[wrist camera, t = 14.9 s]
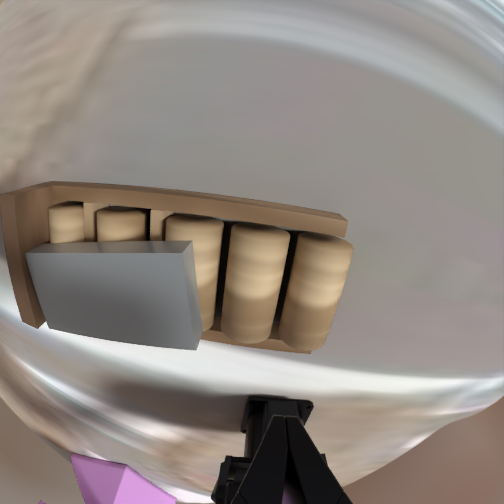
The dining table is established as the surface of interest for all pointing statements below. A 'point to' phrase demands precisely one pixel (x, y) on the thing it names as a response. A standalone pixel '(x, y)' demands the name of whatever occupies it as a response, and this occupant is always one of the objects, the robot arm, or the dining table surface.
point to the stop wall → (26, 242)
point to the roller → (122, 224)
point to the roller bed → (232, 257)
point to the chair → (114, 483)
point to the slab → (120, 291)
